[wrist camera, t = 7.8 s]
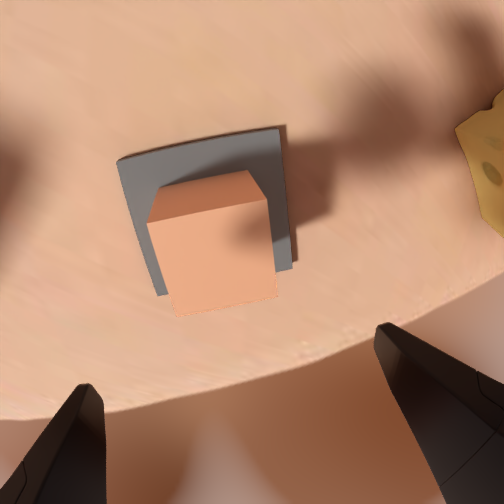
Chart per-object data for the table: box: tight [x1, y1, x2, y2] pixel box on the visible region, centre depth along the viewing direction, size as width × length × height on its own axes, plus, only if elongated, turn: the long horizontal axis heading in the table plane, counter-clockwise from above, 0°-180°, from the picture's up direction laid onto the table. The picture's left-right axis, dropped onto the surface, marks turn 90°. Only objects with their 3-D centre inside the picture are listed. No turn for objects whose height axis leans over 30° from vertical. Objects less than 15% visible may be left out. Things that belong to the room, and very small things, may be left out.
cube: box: [147, 170, 278, 317], centre depth 16 cm, size 5×5×5 cm
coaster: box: [116, 128, 293, 296], centre depth 18 cm, size 9×9×1 cm
